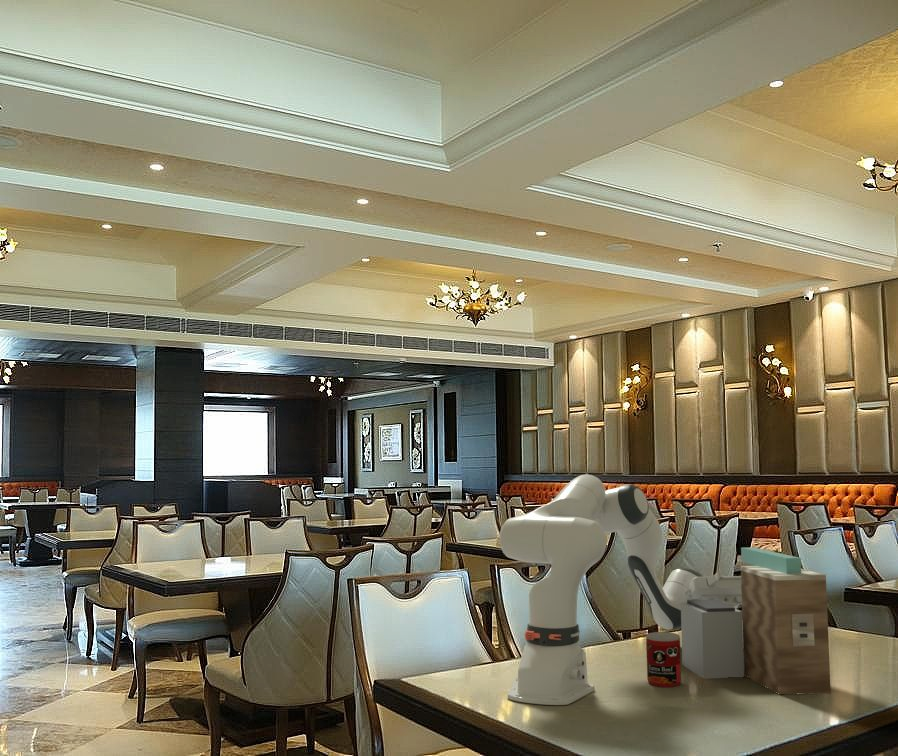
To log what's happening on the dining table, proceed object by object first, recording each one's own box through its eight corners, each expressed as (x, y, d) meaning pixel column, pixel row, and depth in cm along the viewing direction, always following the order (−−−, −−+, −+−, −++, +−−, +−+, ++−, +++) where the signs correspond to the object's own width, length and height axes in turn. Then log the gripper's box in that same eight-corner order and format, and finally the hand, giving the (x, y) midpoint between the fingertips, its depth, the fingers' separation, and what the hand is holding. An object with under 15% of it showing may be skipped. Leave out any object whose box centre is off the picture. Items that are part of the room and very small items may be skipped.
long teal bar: (741, 561, 226) (741, 547, 227) (754, 561, 227) (754, 547, 227) (786, 573, 203) (786, 558, 203) (801, 573, 203) (800, 558, 203)
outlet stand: (744, 675, 215) (740, 566, 217) (791, 673, 216) (787, 565, 218) (780, 695, 197) (776, 576, 199) (832, 693, 198) (827, 575, 200)
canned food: (643, 685, 206) (642, 636, 207) (652, 677, 213) (651, 630, 214) (676, 689, 203) (675, 639, 204) (684, 681, 210) (683, 633, 211)
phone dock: (682, 665, 226) (680, 599, 227) (720, 664, 227) (718, 598, 228) (703, 678, 212) (701, 609, 213) (744, 677, 213) (741, 608, 214)
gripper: (680, 584, 245) (696, 564, 234) (752, 583, 247) (771, 563, 236) (685, 606, 241) (701, 587, 230) (757, 605, 243) (777, 585, 232)
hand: (737, 575), depth 233 cm, fingers open, 8 cm apart
